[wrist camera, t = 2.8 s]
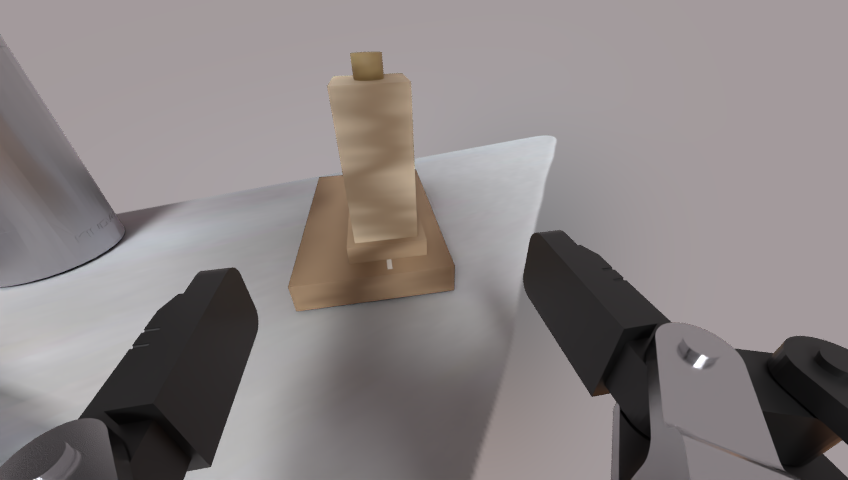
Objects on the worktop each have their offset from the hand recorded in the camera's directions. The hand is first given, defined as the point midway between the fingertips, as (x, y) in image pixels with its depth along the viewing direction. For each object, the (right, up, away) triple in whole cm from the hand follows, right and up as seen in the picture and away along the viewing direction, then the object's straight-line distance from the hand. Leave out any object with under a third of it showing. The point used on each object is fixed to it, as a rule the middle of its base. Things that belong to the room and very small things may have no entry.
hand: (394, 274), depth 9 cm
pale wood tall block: (-2, +1, +14) cm, 14 cm away
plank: (-3, +2, +18) cm, 19 cm away
